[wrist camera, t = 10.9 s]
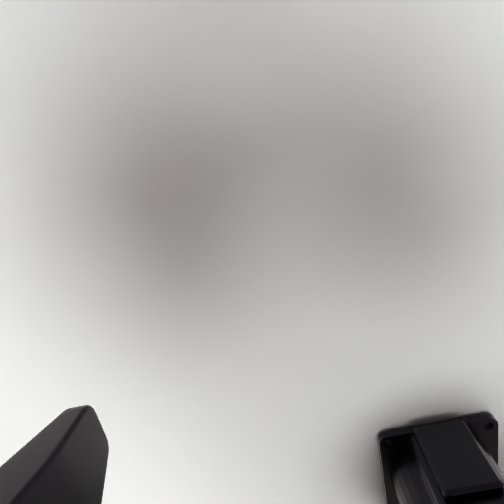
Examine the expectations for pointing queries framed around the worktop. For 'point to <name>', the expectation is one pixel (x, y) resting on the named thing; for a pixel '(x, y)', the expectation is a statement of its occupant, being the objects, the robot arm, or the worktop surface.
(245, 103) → the worktop surface
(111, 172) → the worktop surface
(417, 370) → the worktop surface
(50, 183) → the worktop surface
